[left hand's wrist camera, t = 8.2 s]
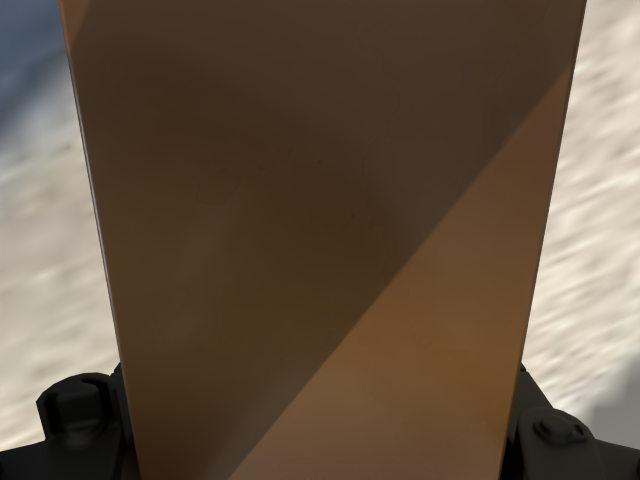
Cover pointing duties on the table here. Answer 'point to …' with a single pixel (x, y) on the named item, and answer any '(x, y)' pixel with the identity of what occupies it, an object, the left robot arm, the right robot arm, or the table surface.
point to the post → (321, 224)
